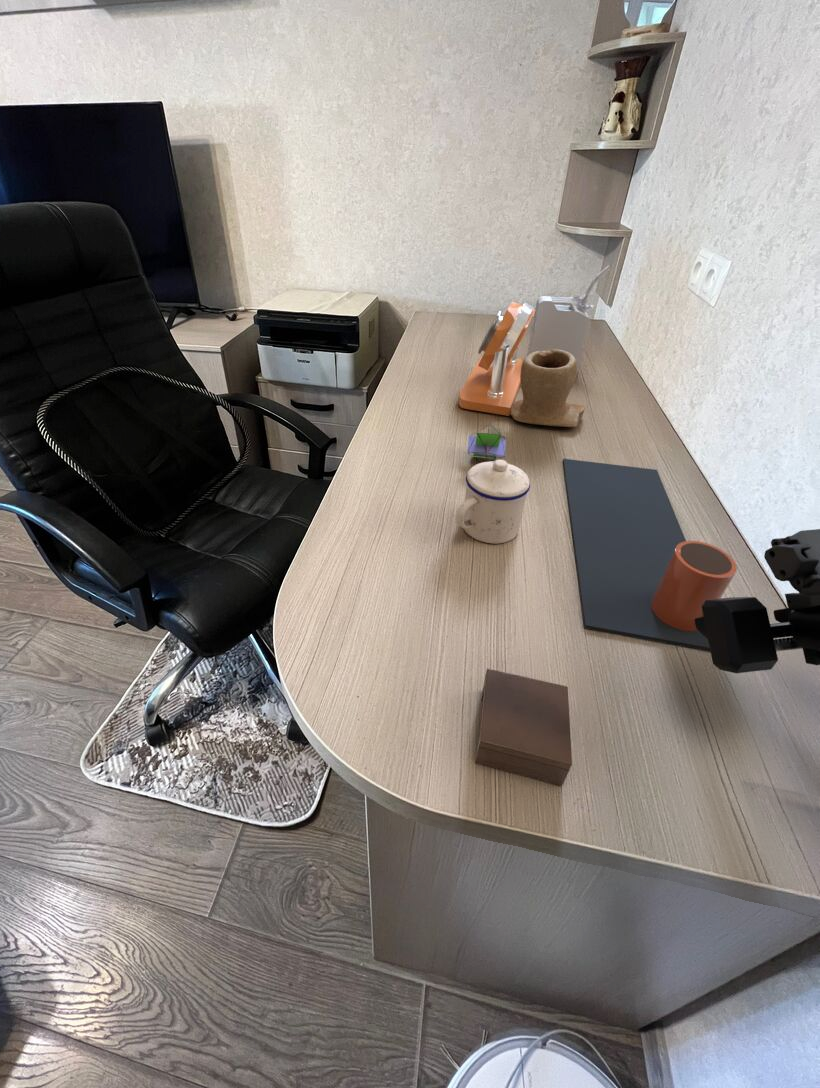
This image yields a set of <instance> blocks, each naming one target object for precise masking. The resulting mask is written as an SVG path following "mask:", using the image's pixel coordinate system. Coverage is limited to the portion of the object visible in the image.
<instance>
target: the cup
mask: <svg viewBox="0 0 820 1088" xmlns="http://www.w3.org/2000/svg"><path fill="white" fill-rule="evenodd" d="M736 563H737V562H736V561H735V560H734V559H733V558H732V556H731V555H729V554H728V553H727V552H726V551H724V550H722V549H721V548H718V547H717V546H715V545H712V544H710V543H707V542H703V541H698V540H686V541H685V542H681V543H679V544H678V545H677V546H676V548H675V550H674V552H673V554H672V556H671V559H670V561H669V563H668V565H667V567H666V569H665V572H664V574H663V576H662V578H661V580H660V582H659V585H658V587H657V589H656V591H655V593H654V595H653V598H652V600H651V608H652V610H653V612H654V613H655V615H656V616H657V617H658V618H659V619H660V620H661V621H663V622H664V623H666V624H667V625H669V626H671V627H673V628H676V629H679V630H682V631H698V630H697V629H696V625H695V618H700V617H703V612H702V605H703V604H704V602H705V600H711V599H721V598H723V596H724V593H725V592H726V590H727V588H728V587H729V585H730V583H731V581H732V580H733V578H734V576H735V575H736V573H737V569H738V567H737V564H736Z"/></svg>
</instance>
